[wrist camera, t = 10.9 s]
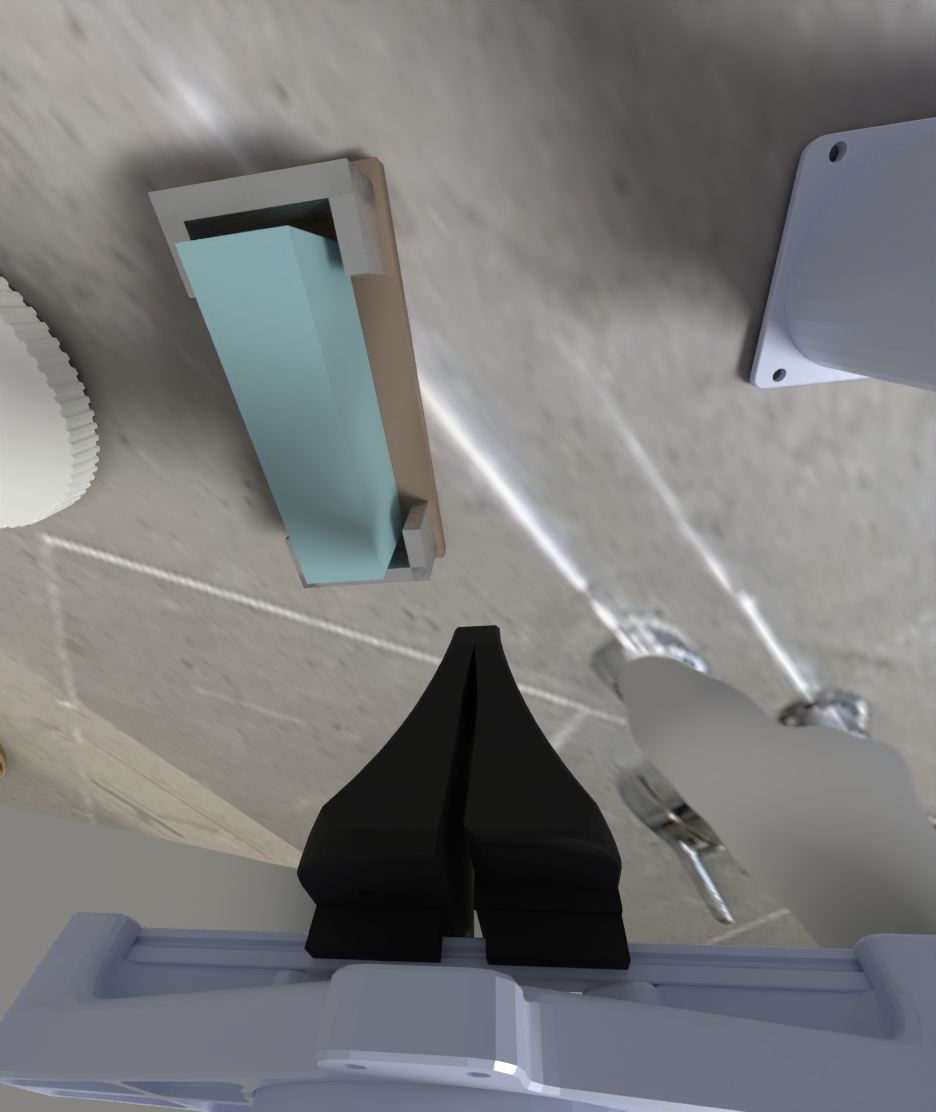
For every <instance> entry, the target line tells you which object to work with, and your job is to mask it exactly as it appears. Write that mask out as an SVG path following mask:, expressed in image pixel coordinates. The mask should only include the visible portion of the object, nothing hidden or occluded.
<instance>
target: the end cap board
mask: <svg viewBox="0 0 936 1112" xmlns="http://www.w3.org/2000/svg"><path fill="white" fill-rule="evenodd" d="M351 162H352V163H353V164H354V165H355V166H356V167H357V168H358V169H359V170H360V171H361V172H362V173H364V174H365V175H366V176H367V177H368V178H369V179H370V180H371V181H372V183H373V189H374V195H375V200H376V206H377V212H378V217H379V223H380V229H381V234H382V240H383V246H384V251H385V257H386V263H387V268H388V274H389V276H386V277H379V278H372V279H366V278H357V277H351V282H352V287H353V291H354V296H355V300H356V305H357V309H358V314H359V319H360V323H361V328H362V332H363V337H364V342H365V346H366V351H367V355H368V360H369V364H370V369H371V374H372V378H373V383H374V387H375V392H376V397H377V401H378V406H379V410H380V415H381V420H382V424H383V429H384V433H385V438H386V442H387V447H388V452H389V456H390V461H391V465H392V470H393V475H394V479H395V484H396V488H397V493H398V497H399V502H400V507H401V511H402V516H403V520H404V525H405V523H406V520H407V517H408V515H409V512H410V510H411V507H412V505H413V503H415V502H427V501H429V506H430V512H431V518H432V523H433V529H434V535H435V540H436V546H437V550H436V554H435V558H438V557H444V554H445V549H446V547H445V541H444V535H443V528H442V522H441V516H440V510H439V504H438V498H437V492H436V486H435V479H434V473H433V467H432V461H431V455H430V449H429V443H428V437H427V431H426V424H425V418H424V412H423V406H422V400H421V394H420V388H419V382H418V375H417V369H416V363H415V357H414V351H413V345H412V339H411V333H410V326H409V320H408V314H407V308H406V302H405V296H404V290H403V284H402V277H401V271H400V265H399V259H398V253H397V247H396V241H395V235H394V228H393V222H392V216H391V210H390V204H389V198H388V192H387V186H386V180H385V173H384V167H383V164H382V163H381V162H380V161H379V159H378V158H377V157H374V158H369V159H363V160H357V161H351ZM287 225H288V226H291V227H294V228H297V229H300V230H303V231H306V232H309V233H312V234H315V235H318V236H321V237H324V238H327V239H330V240H333V241H336V242H338V239H337V234H336V230H335V225H334V221H333V217H332V218H325V219H319V220H313V221H306V222H300V223H294V224H287ZM287 225H281V226H287ZM281 226H275V227H281ZM268 228H274V227H268ZM268 228H262V229H268ZM262 229H256V230H262ZM249 231H255V230H249ZM249 231H243V232H249ZM243 232H237V233H243ZM237 233H234V234H237ZM403 528H404V527H403ZM402 530H403V529H402ZM399 538H404V536H403V532H401V534H400V537H399Z"/></svg>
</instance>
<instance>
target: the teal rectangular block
mask: <svg viewBox="0 0 936 1112" xmlns="http://www.w3.org/2000/svg"><path fill="white" fill-rule="evenodd" d="M175 246H176V248H177V251H178V253H179V256H180V258H181V261H182V264H183V266H184V269H185V271H186V274H187V276H188V279H189V282H190V284H191V287H192V289H193V292H194V294H195V297H196V299H197V302H198V305H199V307H200V310H201V312H202V315H203V317H204V320H205V323H206V325H207V328H208V330H209V333H210V335H211V338H212V341H213V343H214V346H215V348H216V351H217V353H218V356H219V359H220V361H221V364H222V366H223V369H224V371H225V374H226V376H227V379H228V382H229V384H230V387H231V389H232V392H233V394H234V397H235V400H236V402H237V405H238V407H239V410H240V412H241V415H242V418H243V420H244V423H245V425H246V428H247V430H248V433H249V436H250V438H251V441H252V443H253V446H254V448H255V451H256V453H257V456H258V459H259V461H260V464H261V466H262V469H263V471H264V474H265V477H266V479H267V482H268V484H269V487H270V489H271V492H272V495H273V497H274V500H275V502H276V505H277V507H278V510H279V513H280V515H281V518H282V520H283V523H284V525H285V528H286V530H287V533H288V536H289V538H290V541H291V543H292V546H293V548H294V551H295V554H296V556H297V559H298V561H299V564H300V566H301V569H302V572H303V574H304V577H305V579H306V582H307V584H314V583H330V582H346V581H362V580H378V579H383V578H384V575H385V573H386V570H387V568H388V565H389V562H390V560H391V557H392V555H393V552H394V550H395V547H396V545H397V542H398V539H399V537H400V534H401V532H402V529H403V527H404V520H403V516H402V511H401V507H400V502H399V497H398V493H397V488H396V484H395V479H394V475H393V470H392V465H391V461H390V456H389V452H388V447H387V442H386V438H385V433H384V429H383V424H382V420H381V415H380V410H379V406H378V401H377V397H376V392H375V387H374V383H373V378H372V374H371V369H370V364H369V360H368V355H367V351H366V346H365V342H364V337H363V332H362V328H361V323H360V319H359V314H358V309H357V305H356V300H355V296H354V291H353V287H352V282H351V277H349V276H346V275H345V270H344V266H343V261H342V257H341V252H340V248H339V243H338V242H336V241H333V240H330V239H327V238H324V237H321V236H318V235H315V234H312V233H309V232H306V231H303V230H300V229H297V228H294V227H291V226H288V225H287V226H281V227H274V228H268V229H262V230H255V231H249V232H243V233H237V234H230V235H224V236H218V237H211V238H205V239H199V240H193V241H186V242H180V243H175Z"/></svg>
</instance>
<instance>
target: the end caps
mask: <svg viewBox="0 0 936 1112" xmlns="http://www.w3.org/2000/svg"><path fill="white" fill-rule="evenodd" d="M148 195H149V198H150V200H151V203H152V205H153V208H154V210H155V213H156V215H157V218H158V220H159V223H160V225H161V228H162V230H163V233H164V235H165V238H166V240H167V243H168V246H169V248H170V251H171V253H172V256H173V258H174V261H175V263H176V266H177V268H178V271H179V273H180V276H181V278H182V281H183V283H184V286H185V288H186V291H187V294H188V296H189V298H196V297H195V294H194V292H193V289H192V287H191V284H190V282H189V279H188V276H187V274H186V271H185V269H184V266H183V264H182V261H181V258H180V256H179V253H178V251H177V248H176V246H175V243H180V242H186V241H193V240H199V239H205V238H211V237H218V236H224V235H230V234H234V233H237V232H243V231H249V230H256V229H262V228H268V227H275V226H281V225H287V224H294V223H300V222H306V221H313V220H319V219H325V218H332V217H333V221H334V225H335V230H336V234H337V239H338V243H339V248H340V252H341V257H342V261H343V266H344V270H345V275H346V276H349V277H357V278H366V279H372V278H379V277H386V276H389V274H388V268H387V263H386V257H385V251H384V246H383V240H382V234H381V229H380V223H379V217H378V212H377V206H376V200H375V195H374V189H373V183H372V181H371V180H370V179H369V178H368V177H367V176H366V175H365V174H364V173H362V172H361V171H360V170H359V169H358V168H357V167H356V166H355V165H354V164H353V163H352V162H350V161H349V160H348V159H347V158H344V159H338V160H332V161H327V162H321V163H315V164H309V165H303V166H298V167H292V168H286V169H280V170H274V171H269V172H263V173H257V174H251V175H246V176H240V177H234V178H228V179H222V180H217V181H211V182H205V183H199V184H193V185H188V186H182V187H176V188H170V189H164V190H159V191H153V192H148ZM402 532H403V536H404V538H399V539H398V542H397V545H396V547H395V550H394V552H393V555H392V557H391V560H390V562H389V565H388V568H387V570H386V573H385V575H384V578H383V579H378V580H362V581H346V582H330V583H314V584H307V582H306V579H305V577H304V574H303V572H302V569H301V566H300V564H299V561H298V559H297V556H296V554H295V551H294V548H293V546H292V543H291V541H290V538H289V536H287V538H286V539H285V541H286V544H287V546H288V549H289V551H290V554H291V556H292V559H293V561H294V564H295V566H296V569H297V571H298V574H299V576H300V579H301V581H302V584H303V587H304V588H310V587H326V586H342V585H359V584H375V583H392V582H408V581H425V580H430V576H431V572H432V568H433V563H434V559H435V554H436V550H437V546H436V540H435V535H434V529H433V523H432V518H431V512H430V506H429V501H427V502H415V503H413V505H412V507H411V510H410V512H409V515H408V517H407V520H406V523H405V525H404V528H403V530H402Z"/></svg>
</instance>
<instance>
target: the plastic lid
mask: <svg viewBox="0 0 936 1112" xmlns="http://www.w3.org/2000/svg"><path fill="white" fill-rule="evenodd" d="M36 315H37V313H36V311H35V310H34V309H33V308H32V307H28V306H27V305H26V304H25V303H24V302H23V297H22V296H21V295H20V294H19V293H18V292H17V291H12V290H11V289H10V288H9V286H8V282H7V281H6V280H5V279H4V278H3V277H0V528H5V527H7V526H9V527H10V528H14V527H16V526H18V525H19V526H25V525H27V524H33V523H35V522H37V521H40V520H42V519H44V518H46V517H48V516H50V515H52V514H54V513H56V512H58V511H60V510H62V509H64V508H66V507H68V506H70V505H72V504H73V503H74V502H75V501H77V500H79V499H80V498H81V497H80V496H81V495H83V494H85V493H86V490H85V489H86V488H89V487H90V486H91V483H90V482H89V481H91V480H93V479H94V477H95V476H94V475H93V474H92V473H93V472H95V471H97V466H95V463H96V462H99V457H98V456H96V453H97V452H99V450H100V448H99V446H97V445H96V441H99V436H98V435H97V434H96V433H95V429H97V424H96V423H95V422H93V419H92V417H93V416H95V415H94V411H93V410H91V409H90V408H89V405H88V403H90V399H89V397H88V396H85V394H84V392H83V390H84V389H85V387H84V385H83V383H82V382H79V381H78V379H77V377H76V375H78V373H77V371H76V369H75V368H73V367H71V366H70V364H69V362H68V361H69V360H70V358H69V357H68V355H67V354H66V353H64V352H62V351H61V349H60V348H59V345H60V343H59V341H58V340H57V338H55V337H52V336H51V335H50V333H49V332H48V330H49V327H48V326H47V325H46V324H45V322H40V321H39V319H38V318H37V317H36Z"/></svg>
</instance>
